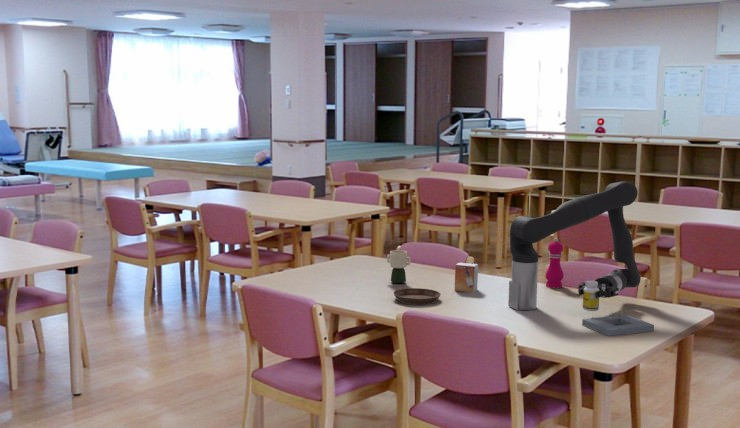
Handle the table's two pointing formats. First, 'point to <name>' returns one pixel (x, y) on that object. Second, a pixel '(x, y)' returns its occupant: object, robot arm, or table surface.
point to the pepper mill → (554, 265)
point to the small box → (466, 277)
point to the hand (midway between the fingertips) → (588, 293)
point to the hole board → (626, 325)
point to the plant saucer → (417, 296)
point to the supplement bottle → (590, 296)
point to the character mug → (398, 265)
